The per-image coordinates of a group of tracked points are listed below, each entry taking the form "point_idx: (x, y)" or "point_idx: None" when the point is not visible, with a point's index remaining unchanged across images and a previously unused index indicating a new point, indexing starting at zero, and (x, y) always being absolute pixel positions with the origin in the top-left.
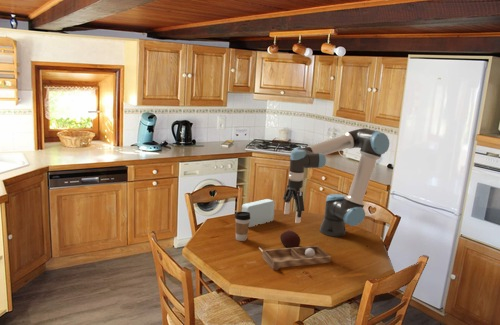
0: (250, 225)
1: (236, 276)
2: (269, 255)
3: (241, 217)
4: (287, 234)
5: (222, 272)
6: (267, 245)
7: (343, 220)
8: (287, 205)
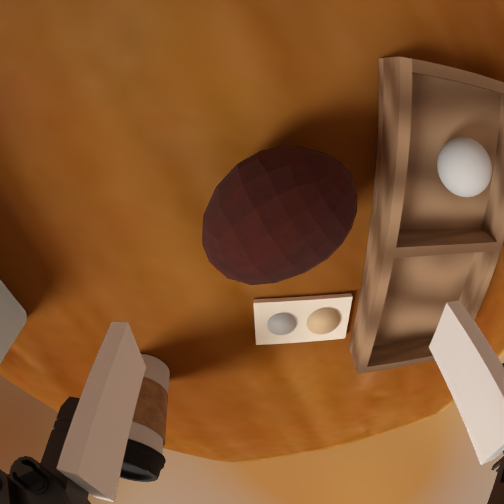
0: (10, 301)
1: (418, 408)
2: (410, 360)
3: (159, 473)
4: (300, 273)
5: (385, 427)
6: (225, 298)
7: None
8: (108, 451)
